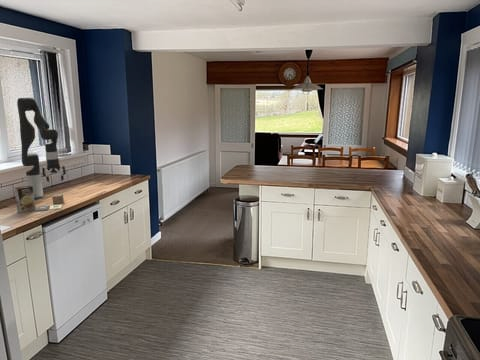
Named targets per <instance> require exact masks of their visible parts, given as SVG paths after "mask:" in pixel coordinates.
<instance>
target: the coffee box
mask: <svg viewBox="0 0 480 360" xmlns="http://www.w3.org/2000/svg"><path fill="white" fill-rule="evenodd" d="M14 194H15V202H16V210H17V212H18V213H20V214H23V213H28V212H32V211H35V210H36V209H37V207H36V201H35V198H34V193H33V187H32V186H28V185H24V186H17V187H14Z"/></svg>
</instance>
